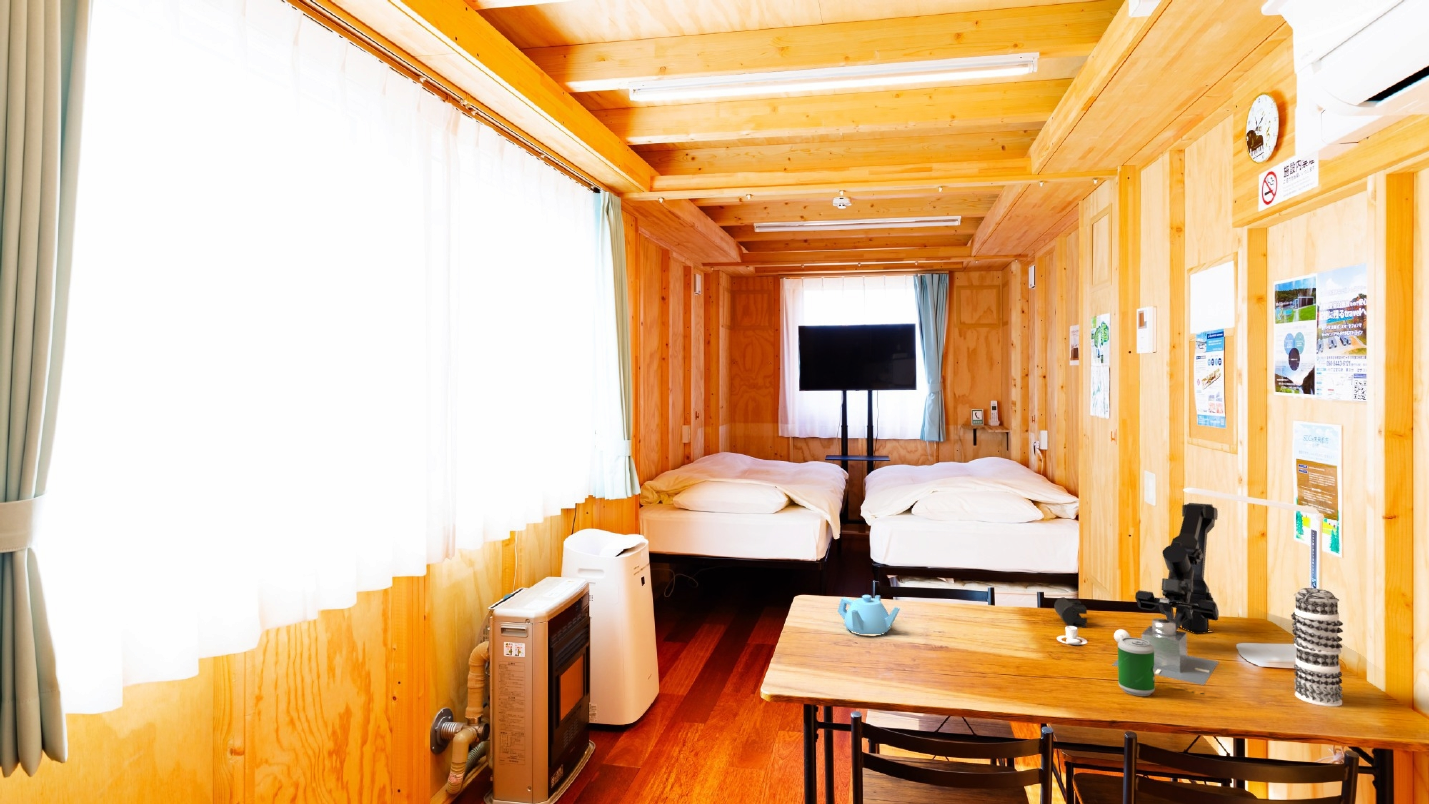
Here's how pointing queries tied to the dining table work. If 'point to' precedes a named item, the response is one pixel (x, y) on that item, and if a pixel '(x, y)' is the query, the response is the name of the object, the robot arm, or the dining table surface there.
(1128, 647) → the soda can
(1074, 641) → the teacup and saucer
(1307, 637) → the decorative candle
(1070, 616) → the end cap
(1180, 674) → the turntable plate
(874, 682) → the dining table surface
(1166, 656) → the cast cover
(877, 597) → the teapot
